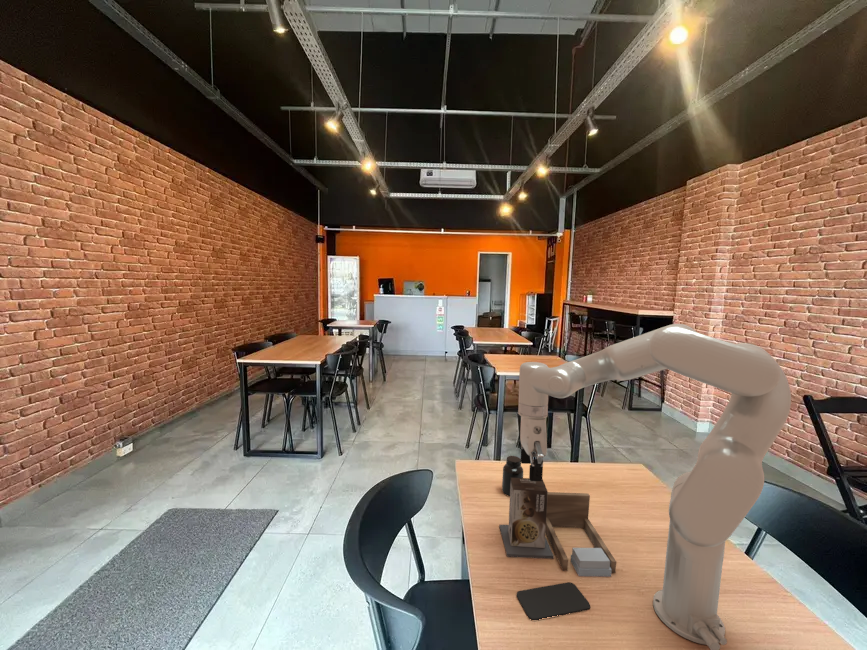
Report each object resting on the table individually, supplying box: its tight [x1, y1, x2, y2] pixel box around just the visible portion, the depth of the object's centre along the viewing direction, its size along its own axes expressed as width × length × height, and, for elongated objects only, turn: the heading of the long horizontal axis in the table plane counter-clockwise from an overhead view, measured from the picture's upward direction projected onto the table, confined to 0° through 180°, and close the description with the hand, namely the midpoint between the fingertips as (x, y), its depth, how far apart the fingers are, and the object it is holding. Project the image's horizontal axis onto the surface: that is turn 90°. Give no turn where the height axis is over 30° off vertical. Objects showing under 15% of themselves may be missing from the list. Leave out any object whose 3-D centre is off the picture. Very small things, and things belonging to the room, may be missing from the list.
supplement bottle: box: [501, 455, 524, 497], centre depth 125 cm, size 7×7×12 cm
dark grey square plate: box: [498, 524, 555, 560], centre depth 100 cm, size 12×12×1 cm
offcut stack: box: [570, 547, 612, 578], centre depth 91 cm, size 5×8×4 cm, turn 91°
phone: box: [515, 581, 591, 621], centre depth 81 cm, size 7×1×15 cm
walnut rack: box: [546, 491, 617, 574], centre depth 99 cm, size 18×13×10 cm
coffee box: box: [508, 477, 549, 548], centre depth 99 cm, size 9×6×16 cm
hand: (530, 471), depth 98 cm, fingers open, 9 cm apart
